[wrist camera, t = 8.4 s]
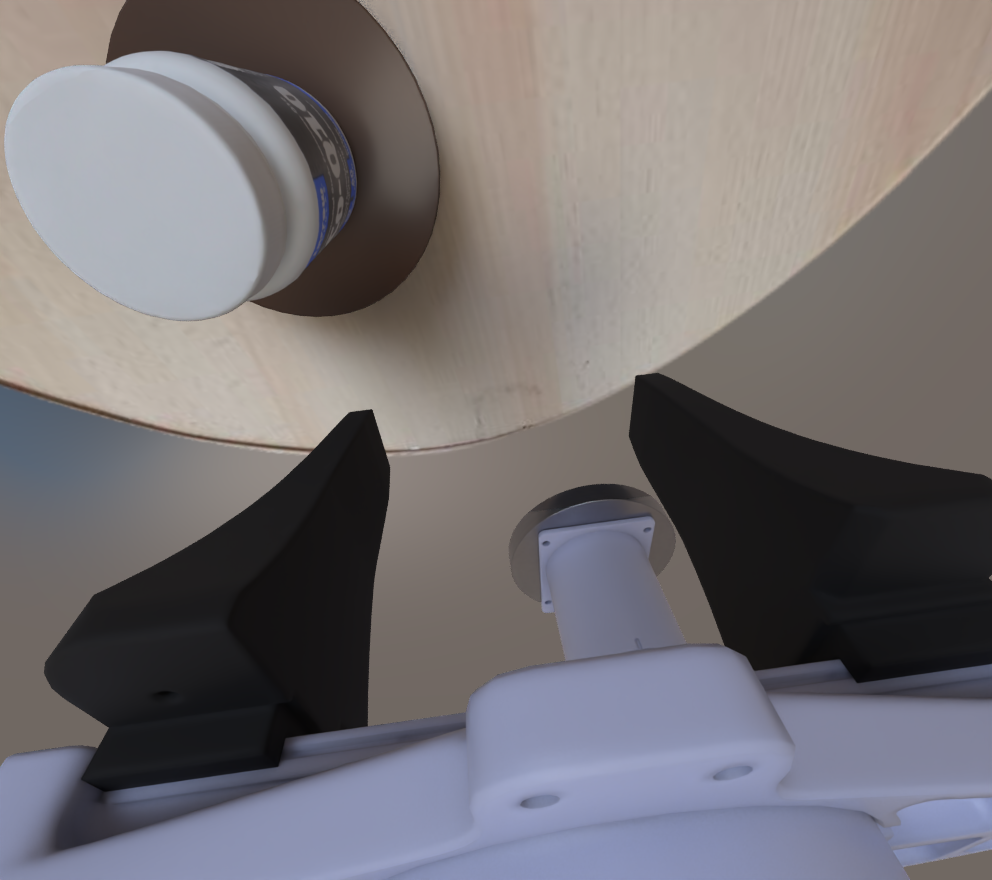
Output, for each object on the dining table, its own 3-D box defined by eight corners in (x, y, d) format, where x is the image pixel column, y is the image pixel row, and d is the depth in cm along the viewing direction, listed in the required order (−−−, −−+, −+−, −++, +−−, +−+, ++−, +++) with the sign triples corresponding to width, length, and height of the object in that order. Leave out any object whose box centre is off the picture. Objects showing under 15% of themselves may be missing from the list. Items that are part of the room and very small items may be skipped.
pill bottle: (378, 231, 16) (329, 319, 9) (250, 256, 16) (107, 362, 9) (326, 57, 13) (198, -2, 6) (170, 90, 13) (-124, 65, 6)
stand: (457, 281, 20) (459, 300, 18) (230, 309, 19) (205, 331, 17) (411, -49, 13) (405, -77, 11) (81, -14, 13) (16, -36, 11)
